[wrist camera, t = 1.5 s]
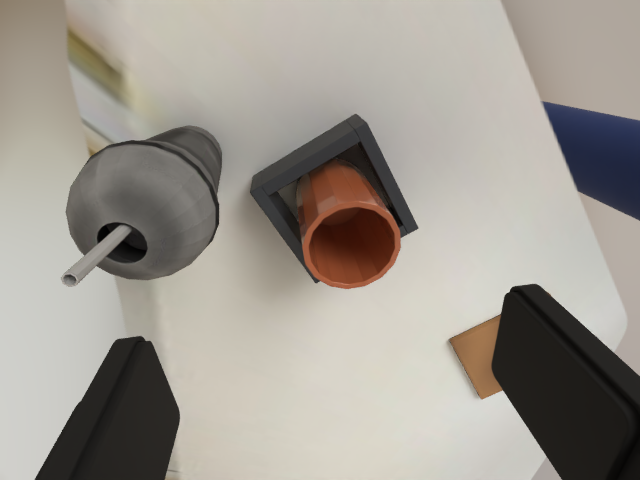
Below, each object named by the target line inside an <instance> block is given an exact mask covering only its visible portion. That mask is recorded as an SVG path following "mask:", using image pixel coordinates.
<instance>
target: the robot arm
mask: <svg viewBox="0 0 640 480" xmlns="http://www.w3.org/2000/svg"><path fill="white" fill-rule="evenodd" d="M491 368H492V372H493V375H494V377H495V379H496V380H497V382H498V383H499V385H500V386H501V388H502V389H503V391H504V392H505V394H506V395H507V397H508V399H509V400H510V402H511V403H512V405H513V406H514V408H515V409H516V411H517V412H518V414H519V415H520V417H521V418H522V420H523V421H524V423H525V424H526V426H527V427H528V429H529V430H530V432H531V433H532V435H533V436H534V438H535V439H536V441H537V442H538V444H539V445H540V447H541V448H542V450H543V451H544V453H545V455H546V456H547V458H548V459H549V461H550V462H551V464H552V465H553V467H554V468H555V470H556V471H557V473H558V474H559V476H560V477H561V479H562V480H640V376H639V375H638V374H636V373H635V372H634V371H633V370H632V369H631V368H630V367H629V366H628V365H627V364H626V363H624V362H623V361H622V360H621V359H620V358H619V357H618V356H617V355H616V354H615V353H613V352H612V351H611V350H610V349H609V348H608V347H607V346H606V345H605V344H603V343H602V342H601V341H600V340H599V339H598V338H597V337H596V336H595V335H594V334H592V333H591V332H590V331H589V330H588V329H587V328H586V327H585V326H584V325H582V324H581V323H580V322H579V321H578V320H577V319H576V318H575V317H574V316H573V315H571V314H570V313H569V312H568V311H567V310H566V309H565V308H564V307H563V306H561V305H560V304H559V303H558V302H557V301H556V300H555V299H554V298H553V297H552V296H550V295H549V294H548V293H547V292H546V291H545V290H544V289H543V288H542V287H540V286H539V285H537V284H529V285H522V286H515V287H512V288H511V289H510V292H509V293H507V294H506V295H505V297H504V302H503V307H502V312H501V317H500V322H499V327H498V333H497V338H496V343H495V348H494V353H493V358H492V363H491ZM179 422H180V413H179V408H178V406H177V403H176V401H175V398H174V396H173V393H172V391H171V388H170V386H169V383H168V381H167V378H166V376H165V374H164V371H163V369H162V366H161V364H160V361H159V359H158V356H157V354H156V351H155V349H154V346H153V344H152V342H151V341H145V339H144V338H143V337H142V336H138V337H130V338H123V339H117V340H116V341H115V342H114V343H113V345H112V346H111V348H110V350H109V352H108V354H107V356H106V358H105V359H104V361H103V363H102V365H101V366H100V368H99V370H98V372H97V373H96V375H95V377H94V379H93V381H92V383H91V384H90V386H89V388H88V390H87V391H86V393H85V395H84V397H83V399H82V401H81V402H79V403H78V405H77V406H76V407H75V409H74V411H73V412H72V414H71V416H70V418H69V420H68V421H67V423H66V425H65V427H64V429H63V430H62V432H61V434H60V436H59V437H58V439H57V441H56V443H55V444H54V446H53V448H52V450H51V451H50V453H49V455H48V457H47V459H46V461H45V462H44V464H43V466H42V468H41V469H40V471H39V473H38V475H37V476H36V478H35V480H165V476H166V472H167V468H168V465H169V461H170V457H171V453H172V449H173V446H174V442H175V438H176V434H177V430H178V426H179Z"/></svg>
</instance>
